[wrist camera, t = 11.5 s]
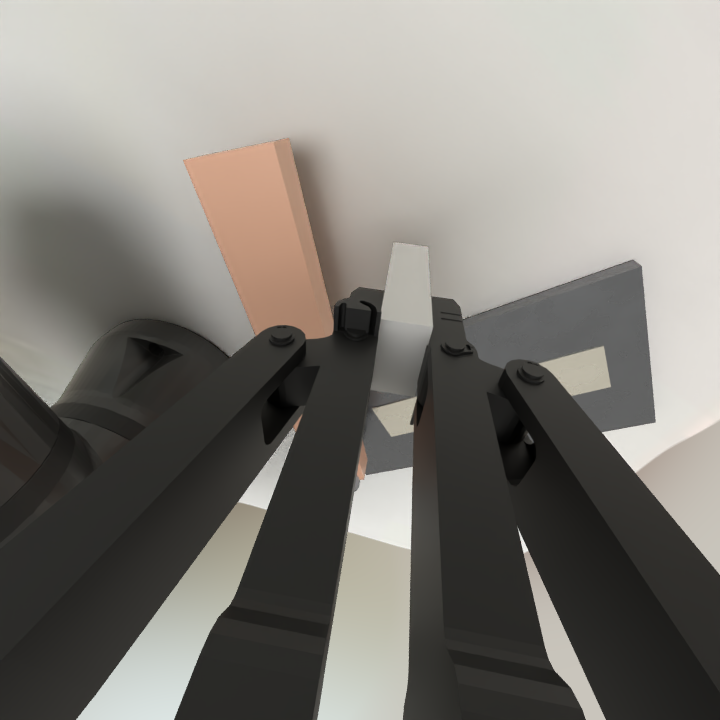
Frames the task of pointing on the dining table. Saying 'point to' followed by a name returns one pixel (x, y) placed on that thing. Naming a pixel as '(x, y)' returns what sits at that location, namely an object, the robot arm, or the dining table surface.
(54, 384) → the dining table surface
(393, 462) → the label plate
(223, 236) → the swing bar
